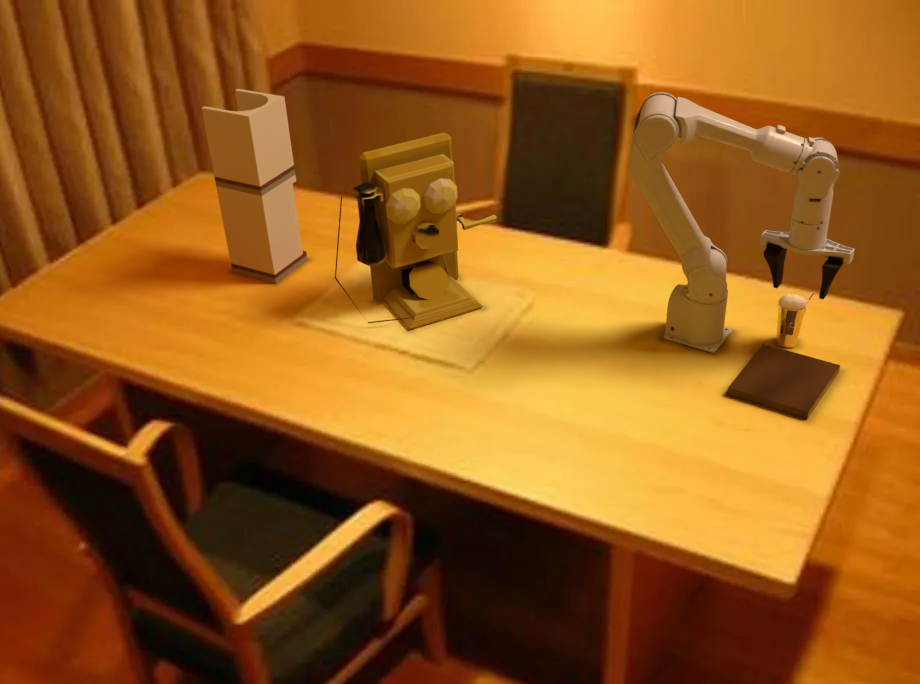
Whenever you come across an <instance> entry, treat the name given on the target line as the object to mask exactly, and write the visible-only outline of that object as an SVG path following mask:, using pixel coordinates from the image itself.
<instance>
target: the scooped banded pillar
mask: <svg viewBox="0 0 920 684" xmlns="http://www.w3.org/2000/svg"><path fill="white" fill-rule="evenodd" d="M234 94H235V99H236V106H237V110H236V111H235V110H227V109H223V108H216V107H212V106H202V107H201V114H202V119H203V123H204V129H205V134H206V139H207V145H208V151H209V155H210V162H211V166H212V172H213V177H214V181H215V188H216V193H217V198H218V204H219V209H220V214H221V219H222V225H223V229H224V235H225V240H226V246H227V251H228V257H229V262H230V266H231V272H232V273H235V274H238V275H242V276H245V277H250V278H253V279H257V280H261V281H265V282H267V283H272V284H275V285H277V284H278V283H280V282H281V281H282V280H283V279H285V278H286V277H288V276H289V275H290V274H291V273H293V272H294V271H296V269H298V268H299V267H300V266H302V265H303V264H305V263H306V262H308V253H307V251H306V250H303V246H302V238H301V231H300V224H299V217H298V210H297V203H296V196H295V189H294V183H296V182H297V176H296V169H295V162H294V155H293V148H292V142H291V141H292V140H291V135H290V128H289V127H290V126H289V120H288V113H287V106H286V99H285V95H284V96H283V95H278V94H272V93H266V92H260V91H254V90H248V89H242V88H236V89H234Z"/></svg>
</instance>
